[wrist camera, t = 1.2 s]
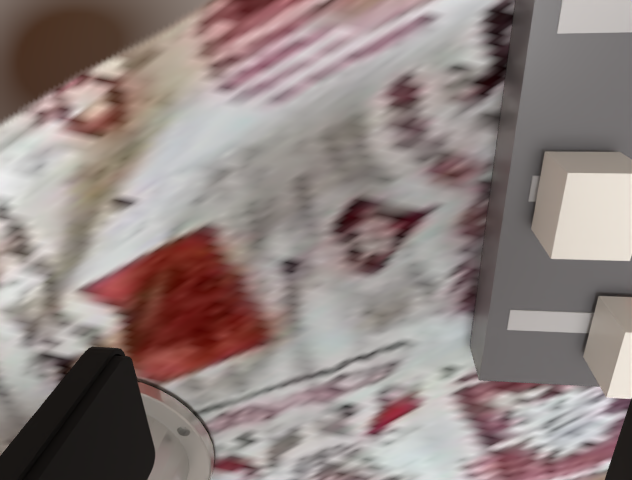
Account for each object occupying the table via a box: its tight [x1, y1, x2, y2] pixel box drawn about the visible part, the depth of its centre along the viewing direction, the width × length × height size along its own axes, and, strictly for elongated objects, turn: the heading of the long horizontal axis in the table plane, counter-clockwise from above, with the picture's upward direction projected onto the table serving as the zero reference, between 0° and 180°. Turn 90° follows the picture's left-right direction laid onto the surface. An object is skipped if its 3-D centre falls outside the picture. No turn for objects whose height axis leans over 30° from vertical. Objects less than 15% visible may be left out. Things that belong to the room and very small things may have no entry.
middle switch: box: [531, 151, 632, 261], centre depth 21 cm, size 4×3×3 cm
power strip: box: [470, 0, 632, 387], centre depth 23 cm, size 22×11×3 cm, turn 1°
